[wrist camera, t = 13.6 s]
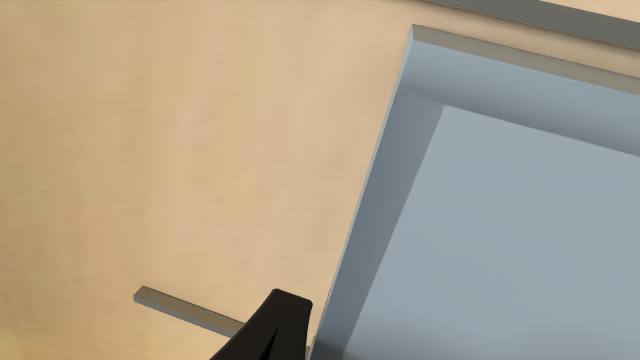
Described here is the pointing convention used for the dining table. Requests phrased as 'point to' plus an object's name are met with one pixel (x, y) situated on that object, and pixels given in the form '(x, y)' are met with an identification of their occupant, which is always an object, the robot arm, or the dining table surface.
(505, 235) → the housing
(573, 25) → the pin seat
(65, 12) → the dining table surface
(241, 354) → the robot arm
